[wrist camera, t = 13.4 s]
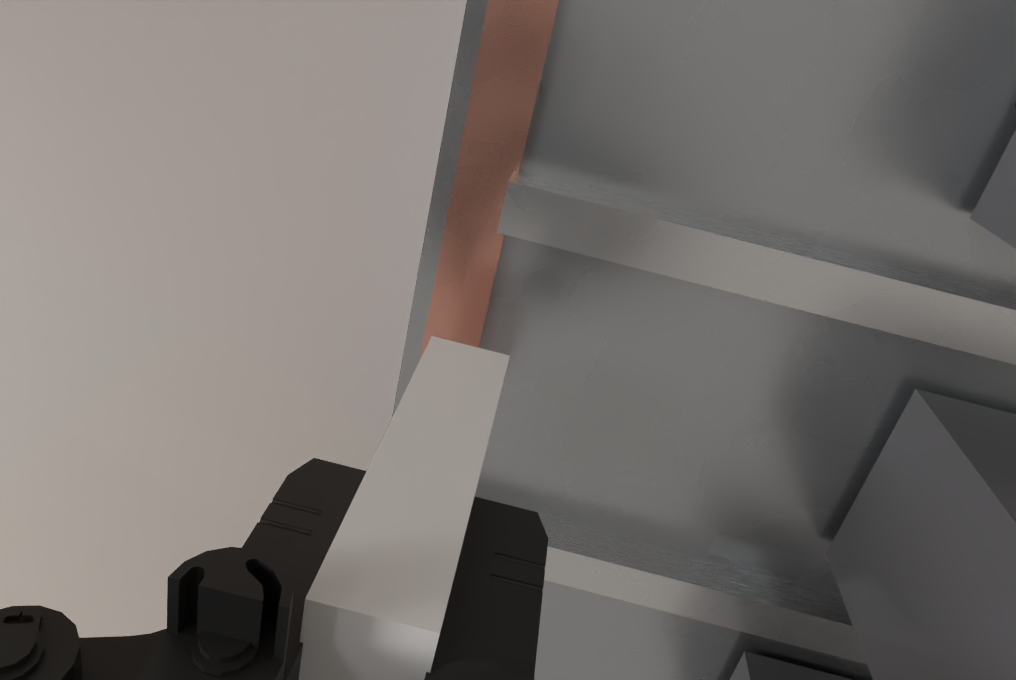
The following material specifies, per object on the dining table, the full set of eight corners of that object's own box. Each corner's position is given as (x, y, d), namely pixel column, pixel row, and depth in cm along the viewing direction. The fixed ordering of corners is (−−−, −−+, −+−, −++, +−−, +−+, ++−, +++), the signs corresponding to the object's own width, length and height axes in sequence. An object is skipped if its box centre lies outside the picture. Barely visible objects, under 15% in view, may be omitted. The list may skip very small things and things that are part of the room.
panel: (356, 670, 24) (325, 756, 22) (553, -369, 13) (537, -463, 10) (871, 807, 24) (904, 911, 21) (1552, -128, 12) (1812, -158, 10)
